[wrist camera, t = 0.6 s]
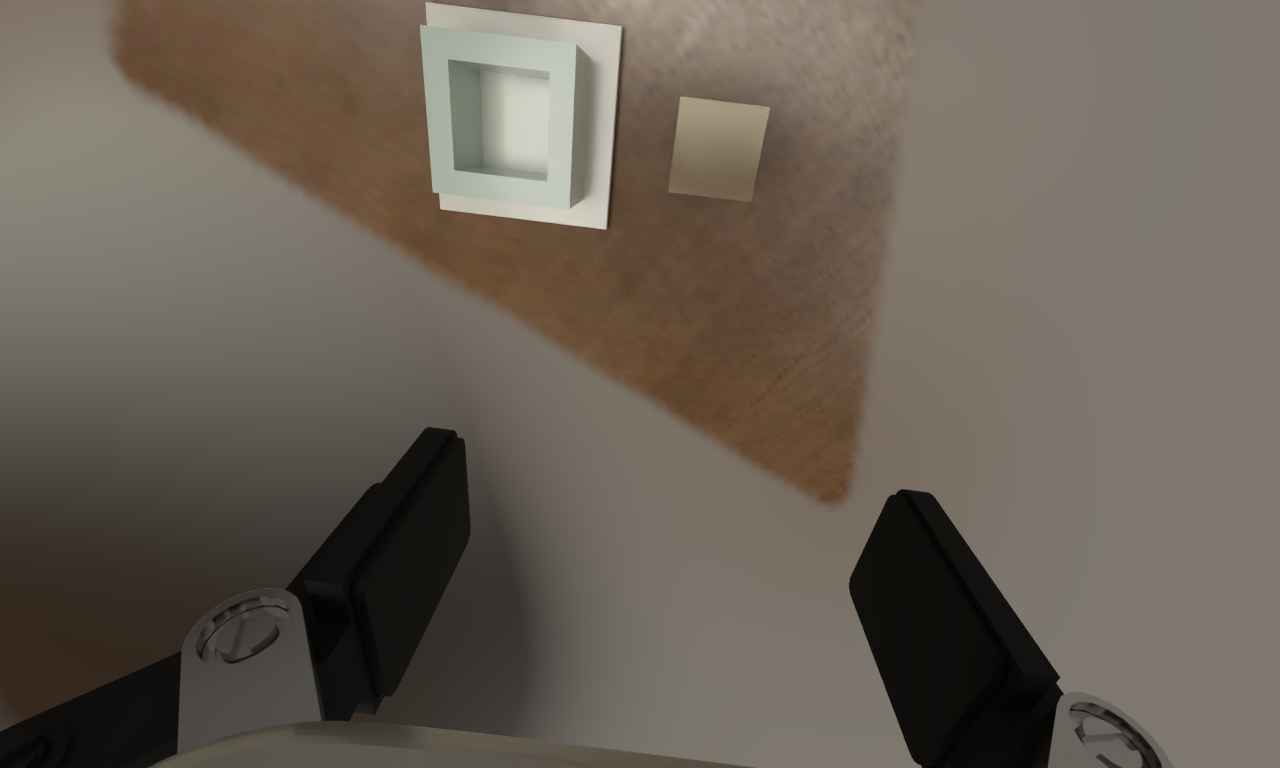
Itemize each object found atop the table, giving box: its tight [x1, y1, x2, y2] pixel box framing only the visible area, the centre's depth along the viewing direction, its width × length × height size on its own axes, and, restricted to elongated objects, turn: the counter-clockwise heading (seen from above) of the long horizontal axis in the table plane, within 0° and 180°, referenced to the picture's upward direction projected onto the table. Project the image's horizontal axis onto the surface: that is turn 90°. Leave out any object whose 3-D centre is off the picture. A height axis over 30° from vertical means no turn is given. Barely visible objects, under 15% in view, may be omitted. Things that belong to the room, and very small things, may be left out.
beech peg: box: [668, 96, 770, 202], centre depth 28 cm, size 4×4×12 cm
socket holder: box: [420, 2, 623, 229], centre depth 31 cm, size 12×12×6 cm
